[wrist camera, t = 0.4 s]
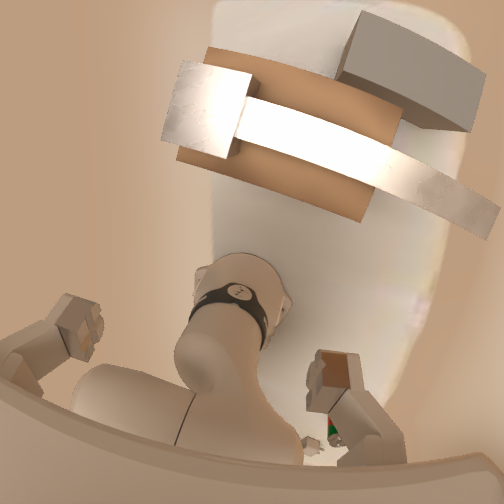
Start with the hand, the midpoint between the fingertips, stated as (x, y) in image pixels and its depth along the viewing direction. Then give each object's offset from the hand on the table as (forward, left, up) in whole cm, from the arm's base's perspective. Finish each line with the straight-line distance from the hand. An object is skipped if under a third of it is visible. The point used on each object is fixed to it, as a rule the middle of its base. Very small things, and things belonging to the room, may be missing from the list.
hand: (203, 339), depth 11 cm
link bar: (+7, -5, -16) cm, 18 cm away
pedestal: (+19, -11, -42) cm, 48 cm away
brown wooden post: (+7, 0, -42) cm, 43 cm away
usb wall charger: (-64, -32, -43) cm, 83 cm away
